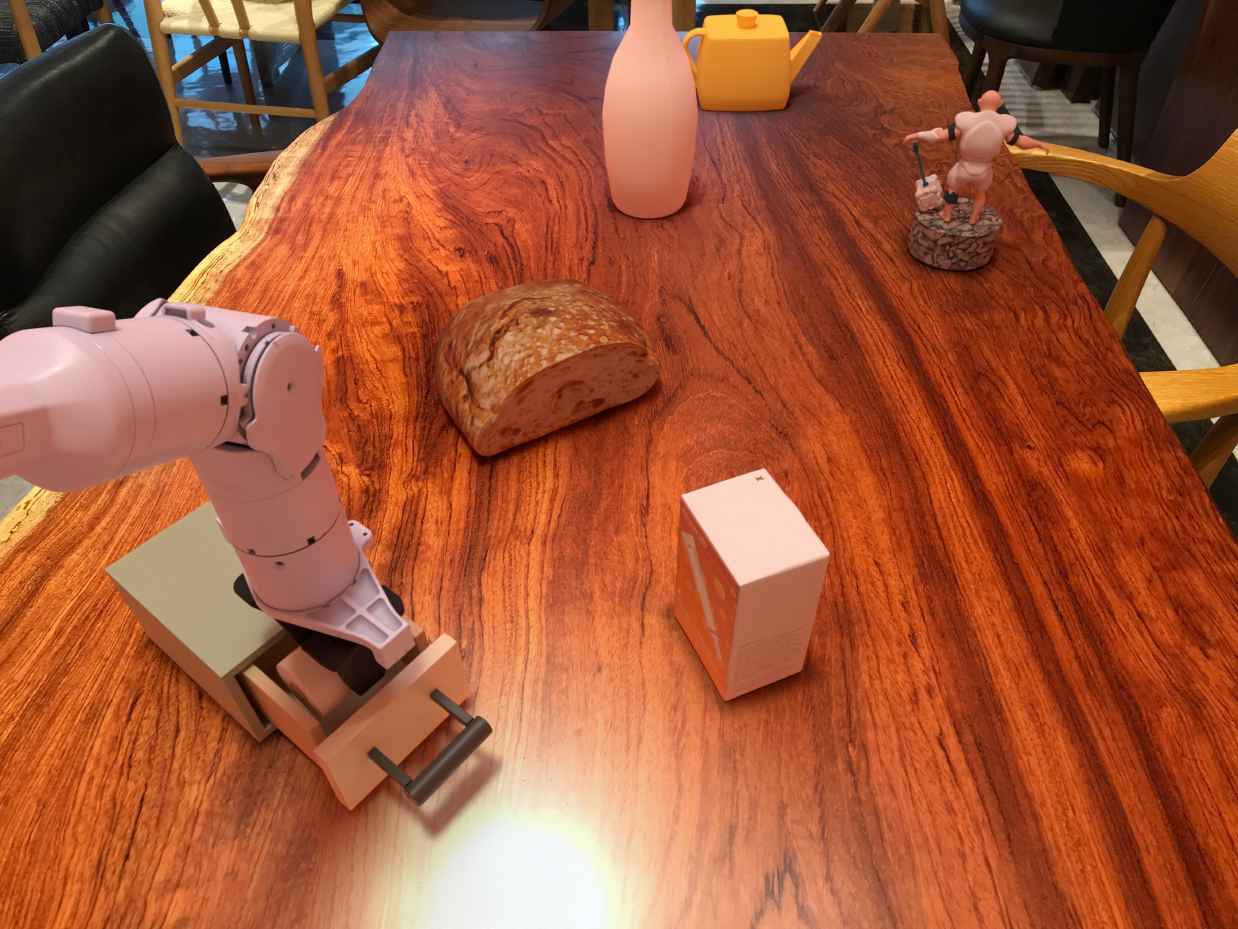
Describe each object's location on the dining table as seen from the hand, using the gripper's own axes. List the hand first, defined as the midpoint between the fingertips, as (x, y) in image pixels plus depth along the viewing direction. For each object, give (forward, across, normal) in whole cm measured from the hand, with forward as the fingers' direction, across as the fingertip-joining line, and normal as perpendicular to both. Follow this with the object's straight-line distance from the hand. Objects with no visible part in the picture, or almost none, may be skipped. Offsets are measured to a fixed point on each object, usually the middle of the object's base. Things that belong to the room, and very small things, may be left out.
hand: (345, 661), depth 55 cm
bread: (+7, +15, -34) cm, 38 cm away
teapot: (+7, +36, -103) cm, 109 cm away
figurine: (+7, -7, -79) cm, 80 cm away
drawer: (+6, -1, 0) cm, 6 cm away
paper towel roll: (-1, +2, 0) cm, 2 cm away
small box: (+6, -16, -20) cm, 27 cm away
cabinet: (+6, +11, 0) cm, 12 cm away
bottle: (+7, +28, -68) cm, 74 cm away
